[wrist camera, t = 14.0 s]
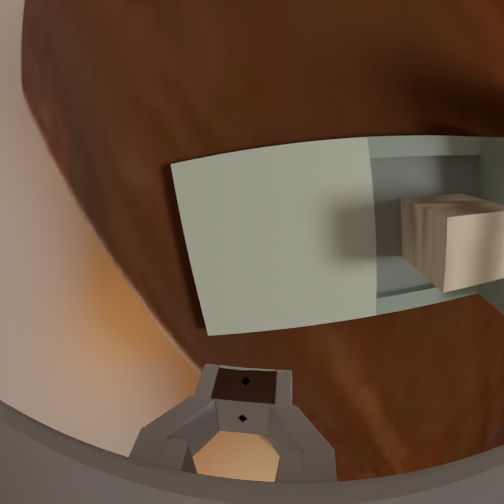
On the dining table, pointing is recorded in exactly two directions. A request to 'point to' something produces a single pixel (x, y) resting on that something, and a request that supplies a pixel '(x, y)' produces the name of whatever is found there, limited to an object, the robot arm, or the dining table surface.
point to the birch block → (453, 239)
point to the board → (322, 226)
